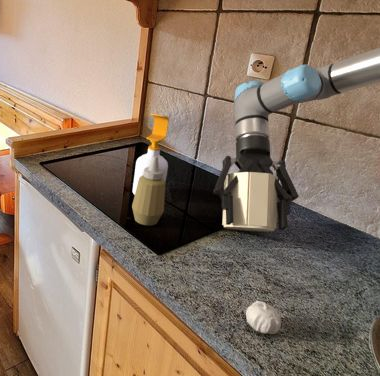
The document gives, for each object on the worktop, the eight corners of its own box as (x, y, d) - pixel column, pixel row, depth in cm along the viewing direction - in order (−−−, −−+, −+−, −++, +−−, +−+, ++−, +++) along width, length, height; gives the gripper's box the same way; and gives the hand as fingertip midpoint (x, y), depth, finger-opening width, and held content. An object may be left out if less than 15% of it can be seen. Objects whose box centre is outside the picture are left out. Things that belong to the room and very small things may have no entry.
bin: (283, 230, 92) (284, 174, 93) (232, 226, 93) (234, 170, 95) (262, 232, 103) (264, 181, 104) (217, 227, 104) (220, 178, 106)
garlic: (235, 320, 74) (241, 297, 72) (257, 312, 76) (264, 290, 74) (262, 343, 69) (270, 320, 67) (285, 335, 71) (293, 312, 69)
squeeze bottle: (137, 210, 112) (146, 148, 104) (166, 219, 107) (177, 155, 100) (125, 221, 106) (133, 157, 98) (154, 231, 101) (165, 165, 94)
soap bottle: (127, 195, 120) (137, 114, 110) (139, 185, 127) (150, 107, 116) (156, 203, 116) (169, 119, 105) (167, 192, 122) (180, 112, 112)
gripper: (295, 150, 103) (302, 234, 95) (199, 143, 106) (199, 224, 98) (310, 137, 96) (319, 226, 88) (207, 130, 98) (208, 216, 91)
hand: (256, 225), depth 93 cm, fingers closed on bin, 11 cm apart
